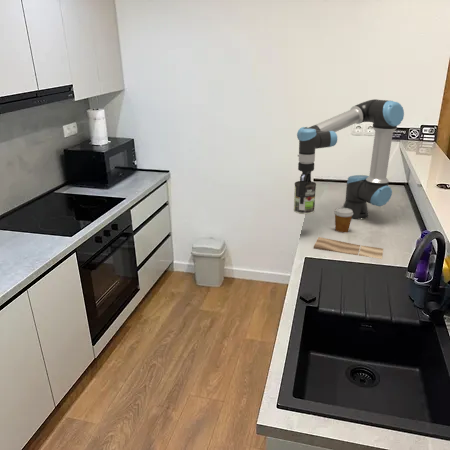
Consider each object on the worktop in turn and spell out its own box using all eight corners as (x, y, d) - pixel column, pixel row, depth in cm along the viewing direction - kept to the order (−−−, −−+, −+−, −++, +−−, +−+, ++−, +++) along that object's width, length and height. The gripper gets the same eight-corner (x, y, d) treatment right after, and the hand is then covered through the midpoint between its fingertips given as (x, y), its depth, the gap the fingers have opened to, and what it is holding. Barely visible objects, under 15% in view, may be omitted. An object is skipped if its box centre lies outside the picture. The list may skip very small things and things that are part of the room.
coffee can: (318, 212, 209) (319, 185, 204) (299, 215, 207) (300, 187, 202) (308, 206, 218) (310, 179, 213) (290, 208, 216) (291, 181, 211)
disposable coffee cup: (353, 231, 224) (356, 209, 220) (347, 236, 217) (349, 214, 213) (336, 227, 229) (338, 206, 225) (329, 233, 222) (331, 211, 218)
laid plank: (360, 247, 204) (360, 245, 204) (383, 250, 201) (383, 248, 200) (357, 257, 194) (357, 255, 194) (381, 261, 190) (381, 258, 190)
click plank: (318, 239, 211) (318, 236, 211) (360, 247, 204) (360, 245, 204) (313, 248, 201) (313, 246, 200) (357, 257, 194) (357, 255, 194)
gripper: (303, 156, 215) (301, 198, 223) (292, 167, 195) (291, 212, 203) (318, 157, 212) (316, 200, 220) (309, 168, 192) (306, 214, 201)
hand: (304, 206), depth 212 cm, fingers closed on coffee can, 10 cm apart
